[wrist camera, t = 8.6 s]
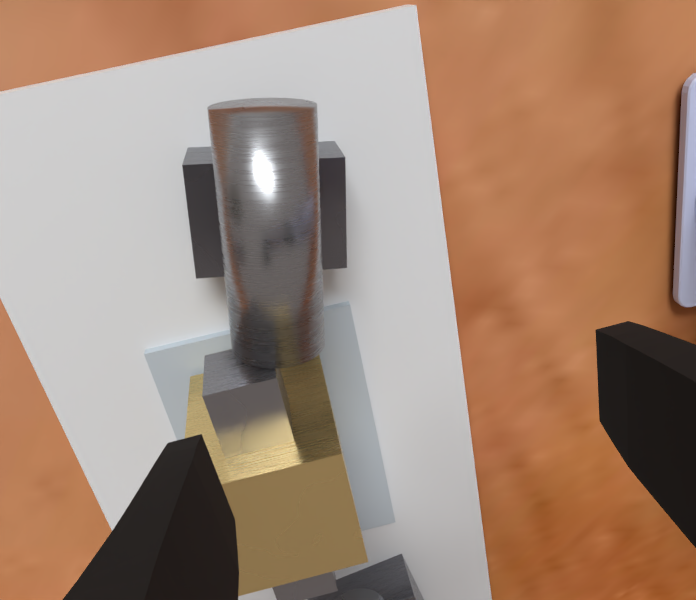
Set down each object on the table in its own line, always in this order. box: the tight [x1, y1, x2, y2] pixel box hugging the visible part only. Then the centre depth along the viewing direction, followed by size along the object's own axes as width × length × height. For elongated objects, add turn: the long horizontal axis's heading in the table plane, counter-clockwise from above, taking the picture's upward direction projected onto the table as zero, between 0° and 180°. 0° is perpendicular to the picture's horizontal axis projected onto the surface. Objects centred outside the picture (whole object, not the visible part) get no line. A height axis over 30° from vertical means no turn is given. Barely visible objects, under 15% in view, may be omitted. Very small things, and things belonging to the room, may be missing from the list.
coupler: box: [185, 349, 368, 600], centre depth 19 cm, size 4×8×5 cm, turn 11°
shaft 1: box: [182, 98, 347, 368], centre depth 16 cm, size 6×4×4 cm, turn 1°
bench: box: [0, 5, 492, 600], centre depth 22 cm, size 13×25×1 cm, turn 11°
